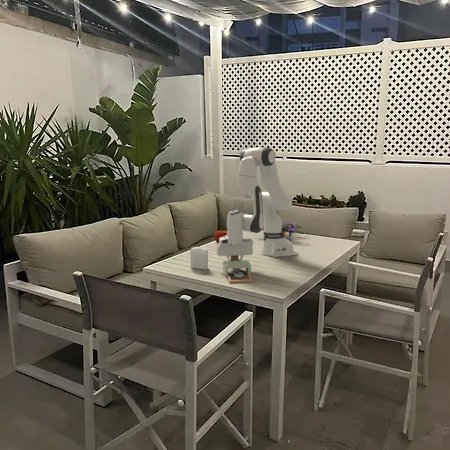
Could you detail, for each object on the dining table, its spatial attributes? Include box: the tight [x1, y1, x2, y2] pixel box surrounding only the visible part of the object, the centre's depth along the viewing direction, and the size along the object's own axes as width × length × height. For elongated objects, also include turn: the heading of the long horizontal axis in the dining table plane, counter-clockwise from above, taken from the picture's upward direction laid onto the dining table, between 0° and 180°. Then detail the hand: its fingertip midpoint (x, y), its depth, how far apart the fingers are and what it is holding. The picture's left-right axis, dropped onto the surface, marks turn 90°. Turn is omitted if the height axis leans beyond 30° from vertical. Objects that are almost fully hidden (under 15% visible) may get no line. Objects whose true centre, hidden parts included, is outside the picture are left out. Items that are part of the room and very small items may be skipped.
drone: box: [261, 222, 305, 242], centre depth 330 cm, size 40×10×28 cm
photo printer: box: [190, 246, 209, 270], centre depth 258 cm, size 10×4×12 cm, turn 69°
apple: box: [214, 229, 228, 245], centre depth 304 cm, size 11×11×12 cm
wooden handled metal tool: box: [230, 255, 241, 274], centre depth 252 cm, size 18×4×8 cm, turn 6°
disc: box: [233, 271, 245, 280], centre depth 241 cm, size 5×5×2 cm
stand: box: [222, 259, 252, 278], centre depth 249 cm, size 14×10×6 cm
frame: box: [226, 274, 253, 284], centre depth 238 cm, size 12×10×1 cm
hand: (234, 262), depth 256 cm, fingers closed on wooden handled metal tool, 4 cm apart
